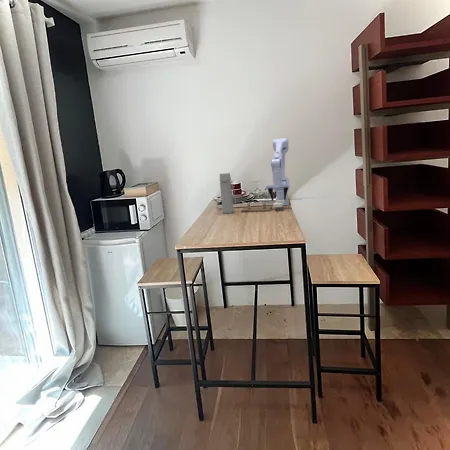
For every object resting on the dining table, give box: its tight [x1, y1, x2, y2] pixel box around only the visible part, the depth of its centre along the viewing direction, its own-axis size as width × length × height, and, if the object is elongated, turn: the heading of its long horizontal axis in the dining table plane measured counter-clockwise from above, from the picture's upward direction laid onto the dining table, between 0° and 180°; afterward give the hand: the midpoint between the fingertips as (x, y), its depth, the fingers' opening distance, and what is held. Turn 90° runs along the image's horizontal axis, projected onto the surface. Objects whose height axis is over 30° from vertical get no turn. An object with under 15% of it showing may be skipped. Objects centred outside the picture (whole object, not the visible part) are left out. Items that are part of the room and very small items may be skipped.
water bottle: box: [219, 172, 237, 214], centre depth 242 cm, size 9×8×25 cm
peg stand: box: [240, 201, 273, 213], centre depth 243 cm, size 10×18×5 cm, turn 74°
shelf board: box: [272, 199, 284, 208], centre depth 241 cm, size 14×5×2 cm, turn 164°
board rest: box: [275, 206, 283, 211], centre depth 241 cm, size 8×3×2 cm, turn 164°
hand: (278, 200), depth 240 cm, fingers open, 7 cm apart
